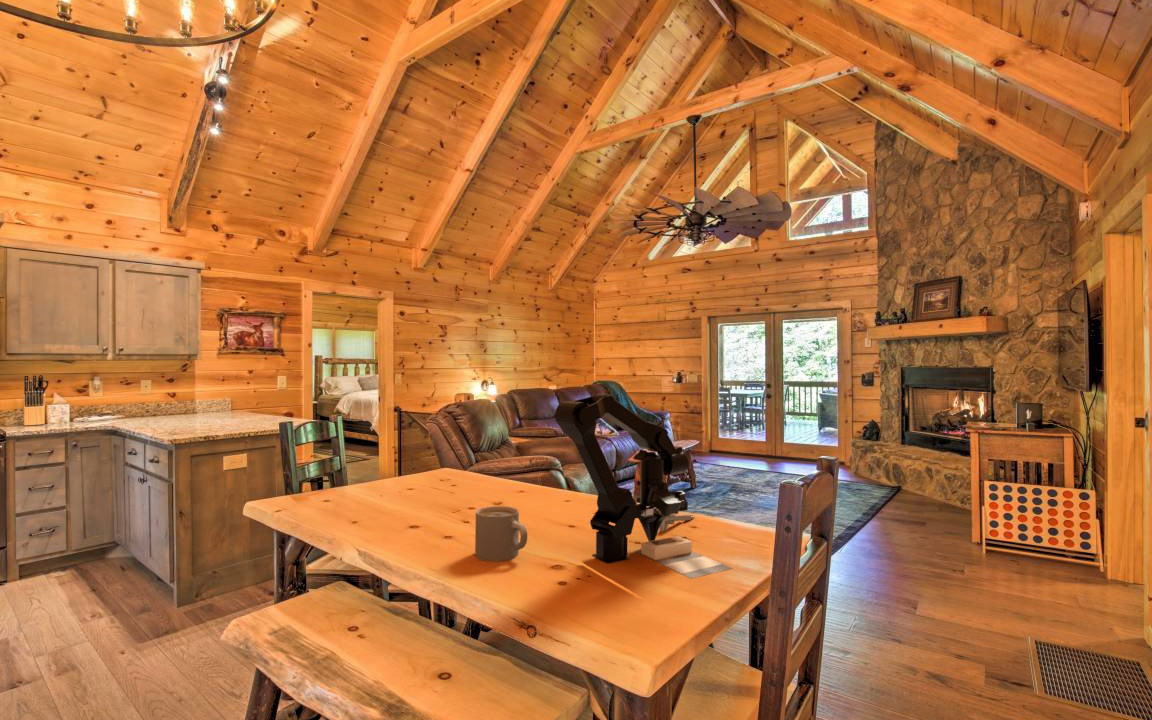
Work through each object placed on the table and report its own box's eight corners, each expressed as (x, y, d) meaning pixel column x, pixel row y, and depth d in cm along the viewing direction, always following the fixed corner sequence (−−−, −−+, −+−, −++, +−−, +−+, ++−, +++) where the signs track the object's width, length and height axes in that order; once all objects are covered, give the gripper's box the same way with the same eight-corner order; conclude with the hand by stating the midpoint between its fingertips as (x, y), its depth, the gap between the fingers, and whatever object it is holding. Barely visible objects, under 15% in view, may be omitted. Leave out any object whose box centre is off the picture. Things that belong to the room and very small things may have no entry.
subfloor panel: (691, 580, 117) (691, 578, 117) (633, 552, 134) (633, 550, 134) (733, 570, 123) (733, 568, 123) (672, 545, 140) (672, 543, 140)
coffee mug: (466, 554, 132) (467, 511, 132) (500, 545, 139) (501, 504, 139) (502, 568, 122) (503, 522, 123) (536, 558, 129) (537, 514, 130)
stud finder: (654, 559, 128) (654, 548, 128) (641, 553, 132) (641, 542, 132) (691, 552, 133) (691, 540, 133) (677, 546, 137) (677, 535, 137)
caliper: (663, 535, 149) (663, 511, 149) (659, 534, 150) (659, 510, 150) (694, 519, 166) (695, 497, 166) (691, 518, 166) (691, 497, 166)
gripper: (642, 487, 126) (641, 558, 126) (703, 479, 136) (703, 545, 135) (613, 479, 135) (612, 544, 135) (672, 472, 145) (672, 533, 145)
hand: (651, 542), depth 137 cm, fingers closed
